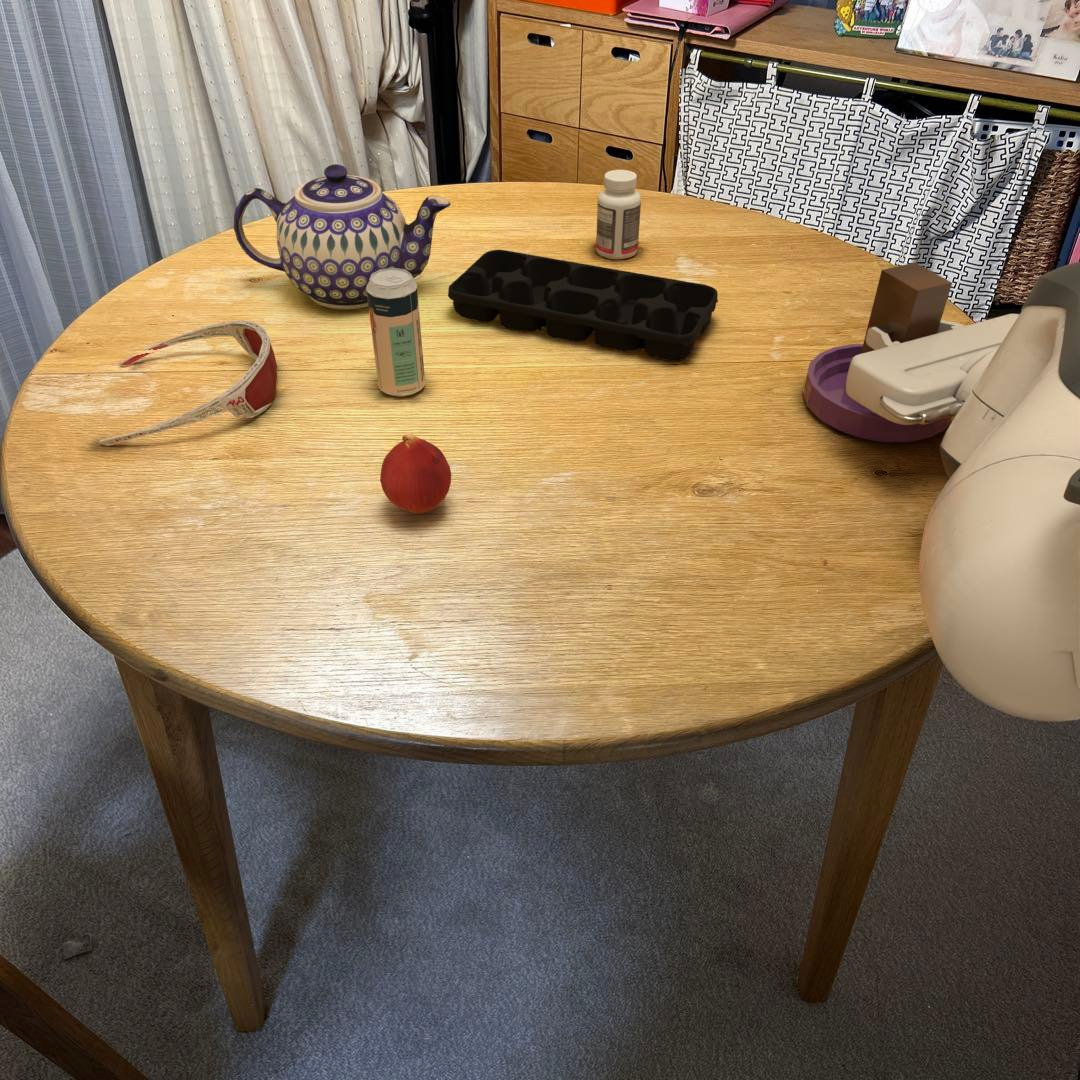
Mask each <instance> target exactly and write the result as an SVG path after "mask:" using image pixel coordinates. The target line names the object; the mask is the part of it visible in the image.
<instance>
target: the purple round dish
mask: <svg viewBox="0 0 1080 1080" xmlns="http://www.w3.org/2000/svg"><path fill="white" fill-rule="evenodd" d="M862 347H863V343H851V344H845V345H838V346H834V347H831V348H829V349H827V350H823V351H821V352H819V353H818V354H817V355H815V357H814V358H813V359H812V360H811V361H810V362H809V365H808V369H807V373H806V377H805V382H804V388H803V393H802V395H803V398H804V400H805V401H804V402H805V404H806V406H807V408H808V410H810V411H811V412H812V413H813V414H814V415H815V416H816V417H817V418H818V419H819V420H820V421H821V422H823V423H825V424H827V425H829V426H830V427H832V428H834V429H835V430H837V431H840V432H841V433H843V434H847V435H850V436H852V437H856V438H859V439H863V440H868V441H873V442H880V443H910V442H915V441H920V440H925V439H930V438H932V437H934V436H935V435H938V434H939V433H942V432H944V431H945V430H947V427H949V426H950V424H951V423H952V421H951V417H950V418H944V419H939V420H936V421H935V422H933V423H930V424H925V425H921V424H919V423H918V424H913V425H902V424H897V423H894V422H892V421H889V420H887V419H885V418H883V417H881V416H880V415H878V414H876V413H874V412H872V411H871V410H869V409H867V408H866V407H864V406H862V405H861V404H859V403H858V402H856V401H855V400H853V399H852V398H850V397H849V396H848V395H847V393H846V389H844V387H845V383H846V379H847V374H848V370H849V367H850V363H851V360H852V359H853V357H854V356H856V355H859V354H861V351H862Z"/></svg>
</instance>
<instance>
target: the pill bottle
mask: <svg viewBox="0 0 1080 1080" xmlns="http://www.w3.org/2000/svg"><path fill="white" fill-rule="evenodd" d="M603 177H604V178H603V187H604V189H603V190H602V191H600V193H599V194H598V196H597V203H596V204H597V207H596V210H597V213H596V236H595V237H596V238H595V250H596V251H595V252H596V253H597V254H598V255H599V256H601V257H603V258H606V259H609V260H625V259H630V258H632V257H634V256H635V255H636V254H637V253H638V251H639V241H640V240H639V239H640V238H639V237H640V223H641V207H642V197H641V194H640V193H639V192H638V191H637V190H636V189H637V185H638V175H637V173H636V172H634V171H631V170H628V169H627V170H626V169H613V170H608V171H607V172H605V174H604V176H603Z"/></svg>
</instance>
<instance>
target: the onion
mask: <svg viewBox="0 0 1080 1080" xmlns="http://www.w3.org/2000/svg"><path fill="white" fill-rule="evenodd" d="M401 438H402V441H400V442H398V443H397V444H395V445H394V446H393V447H392V448H391V449H390V451H388V453H387V454H386V455H385V457H384V458H383V461H382V463H381V469H380V475H379V477H380V479H379V482H380V485H381V489H382V491H383V493H384V495H385V497H386V498H387V499H388V501H389V502H390V503H392V504H393V505H394V506H396V507H398V508H399V509H402V510H404V511H408V512H410V513H413V514H414V515H422V514H424V513H425V514H426V513H427V512H430V511H433V510H435V508H437V507H439V505H440V504H442V503H443V502H444V500H445V499H446V498H447V495H448V493H449V491H450V488H451V483H452V471H451V467H450V464H449V462H448V460H447V458H446V456H445V454H444V453H443V452H442V450H441V449H440V448H439V447H438V446H436V445H435V444H433V443H431V442H429V441H427V440H425V439H423V438H420V437H417V436H415V435H414V434H413V433H407V434H404V435H403V436H401Z"/></svg>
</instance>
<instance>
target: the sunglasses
mask: <svg viewBox="0 0 1080 1080" xmlns="http://www.w3.org/2000/svg"><path fill="white" fill-rule="evenodd" d="M219 337H220V338H223V337H226V338H227V337H232V338H233V339H235V340H236V341H237V343H238V344H239V346H240V347H242V349H243V350H244V351H245V352H246V353H247V354H248V355H249V356H250V357H251V358H252V359H253V360H254V361H255V362H253V364H252V365H251V366H250V367H249V369H247V371H246V372H245V374H244V375H243V376H242V377H241V378H240V379H239V380H238V381H236V382H235V383H234V384H233V385H232V386H230V388H227V390H225V391H224V392H223V393H222V394H220V395H218V396H216V397H215V398H213V399H212V400H210V401H208V402H206V403H204V404H202V405H200V406H198V407H195V408H193V409H192V410H189V411H186V412H184V413H183V414H180V415H178V416H176V417H172V418H169V419H167V420H163V421H162V422H159V423H156V424H154V425H151V426H148V427H145V428H141V429H137V430H135V431H130V432H127V433H122V434H119V435H114V436H110V437H107V438H106V437H105V438H101V439H100V440H99V441H98V443H99V445H103V446H107V447H109V446H114V445H118V444H121V443H125V442H128V441H132V440H135V439H138V438H141V437H145V436H150V435H153V434H157V433H162V432H165V431H170V430H172V429H176V428H180V427H185V426H189V425H191V424H192V425H193V424H195V423H199V422H202V421H203V420H206V419H209V418H212V417H215V416H217V415H220V414H222V413H225V412H229V413H230V414H231V415H233V416H234V418H237V419H238V418H241V417H243V418H245V419H252V418H254V417H256V416H258V415H260V414H261V413H264V411H266V410H267V409H268V408H269V407H270V406H272V404H273V403H272V402H273V401H274V400H275V397H276V393H277V383H278V382H277V381H278V370H277V369H278V364H277V359H276V354H275V351H274V349H273V346H272V343H271V339H270V336H269V334H268V332H267V330H266V329H264V327H262V326H261V325H260V324H258V323H256V322H254V321H249V320H233V321H223V322H219V323H215V324H211V325H207V326H203V327H200V328H197V329H194V330H191V331H186V332H185V333H182V334H180V335H176V336H173V337H170V338H168V339H165V340H163V341H160V342H158V343H155V344H152V345H151V346H148V347H145V348H142V350H143V351H145V350H151V349H153V350H157V349H160V350H162V349H165V348H168V347H171V346H174V345H178V344H181V343H186V342H187V343H188V342H192V341H198V340H203V339H210V338H219ZM157 351H158V350H157ZM153 353H154V352H152V353H145V354H141V355H136V356H133V355H134V354H132V355H129V356H128V357H127V358H125V359H123V360H121V361H119V362H118V364H117V365H118V366H119V367H124V368H126V367H129V366H132V365H133V364H134V363H136V362H138V361H140V360H141V359H143V358H146V357H147V356H149V355H151V354H153Z"/></svg>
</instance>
